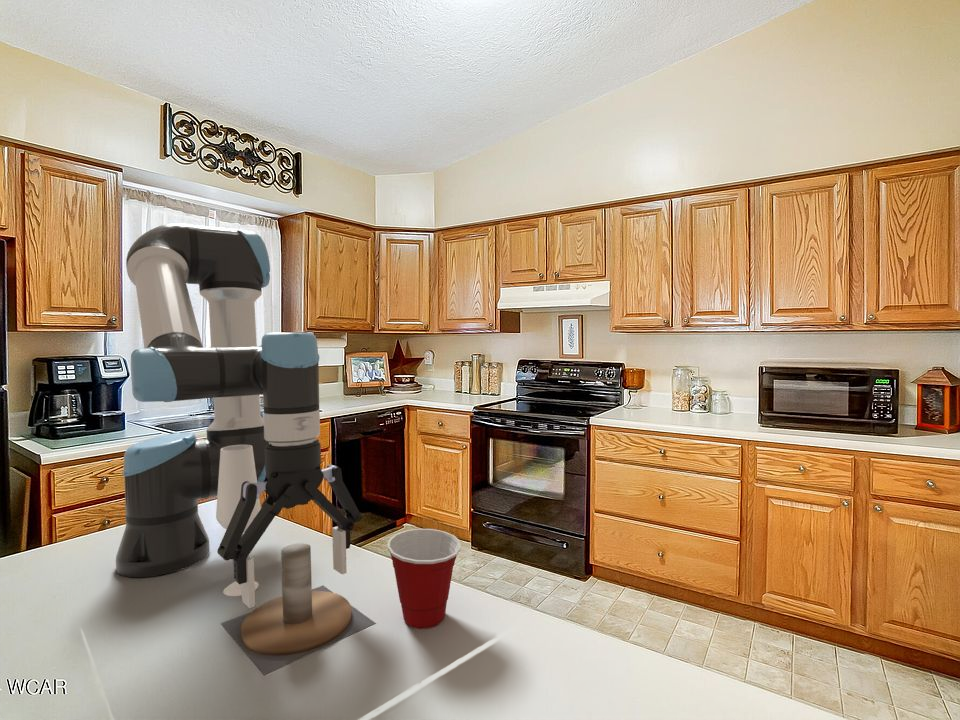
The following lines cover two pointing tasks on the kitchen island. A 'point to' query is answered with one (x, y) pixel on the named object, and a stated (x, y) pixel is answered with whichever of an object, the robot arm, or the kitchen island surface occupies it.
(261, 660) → the mat
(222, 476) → the champagne flute
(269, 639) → the lid
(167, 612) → the kitchen island surface
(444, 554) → the plastic cup
